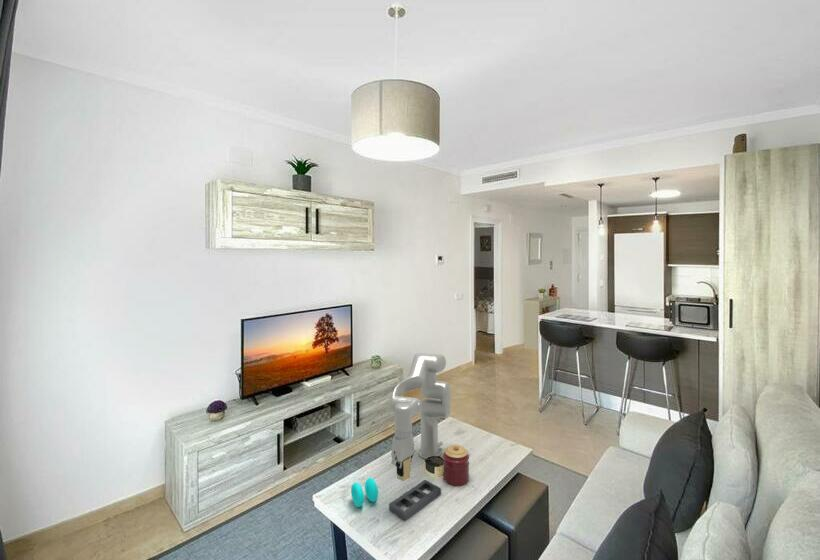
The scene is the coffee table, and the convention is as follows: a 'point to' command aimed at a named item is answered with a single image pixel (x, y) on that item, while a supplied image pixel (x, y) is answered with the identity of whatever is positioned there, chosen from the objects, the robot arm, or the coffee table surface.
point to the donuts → (359, 495)
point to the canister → (456, 465)
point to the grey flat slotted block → (413, 505)
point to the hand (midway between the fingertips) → (403, 472)
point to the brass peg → (405, 470)
